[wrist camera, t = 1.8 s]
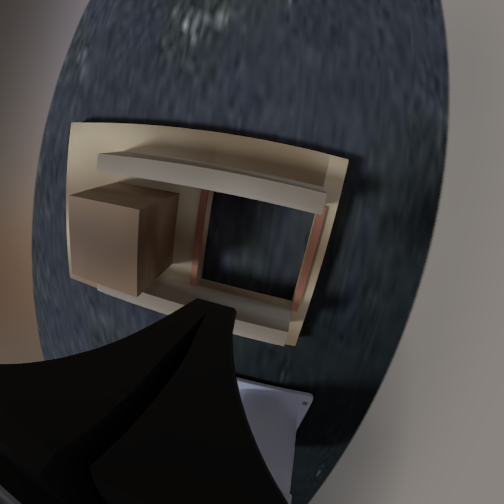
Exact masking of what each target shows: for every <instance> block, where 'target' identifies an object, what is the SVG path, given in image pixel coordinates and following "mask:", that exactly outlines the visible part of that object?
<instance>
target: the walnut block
mask: <svg viewBox="0 0 504 504" xmlns="http://www.w3.org/2000/svg"><path fill="white" fill-rule="evenodd" d="M178 200H179V193H176V192H170V191H165V190H160V189H154V188H148V187H143V186H137V185H131V184H125V183H119V182H115V183H111V184H107V185H103V186H100V187H96V188H92V189H89V190H85V191H82V192H78V193H75V194H72V195H69V235H70V253H71V266H72V274H74V275H76V276H79V277H81V278H84V279H87V280H89V281H92V282H94V283H97V284H100V285H103V286H105V287H108V288H111V289H114V290H117V291H119V292H122V293H125V294H128V295H131V296H134V297H138V296H139V295H140V294H141V293H142V292H143V291H144V290H145V289H146V288H147V287H148V286H149V285H151V284H152V283H153V282H154V281H155V280H156V279H157V278H158V277H159V276H160V275H161V274H162V273H163V272H164V271H165V270H166V269H167V268H168V267H170V266H171V265H172V261H173V249H174V238H175V227H176V218H177V209H178Z"/></svg>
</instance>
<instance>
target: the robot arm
mask: <svg viewBox="0 0 504 504" xmlns="http://www.w3.org/2000/svg"><path fill="white" fill-rule="evenodd" d="M236 314H237V311H236V310H235V308H232V307H229V306H225V305H221V304H217V303H214V302H210V301H206V300H203V299H199V298H196V299H195V300H193V301H191V302H189V303H188V304H186V305H184V306H183V307H181V308H179V309H178V310H176V311H175V312H173V313H171V314H169V315H168V316H166V317H164V318H163V319H161V320H159V321H157V322H155V323H154V324H152V325H150V326H148V327H146V328H144V329H142V330H140V331H138V332H136V333H134V334H132V335H130V336H128V337H125V338H123V339H121V340H118V341H116V342H113V343H111V344H108V345H105V346H102V347H100V348H97V349H93V350H90V351H86V352H83V353H79V354H75V355H71V356H67V357H63V358H58V359H53V360H47V361H41V362H32V363H23V364H0V490H1V491H2V492H3V493H4V494H5V495H6V496H7V497H8V498H9V499H11V500H12V501H13V502H14V503H15V504H291V498H292V495H291V494H289V492H290V484H291V476H292V468H293V458H294V449H295V439H296V430H297V429H298V427H299V425H300V423H301V421H302V420H303V418H304V416H305V414H306V412H307V411H308V409H309V407H310V405H311V403H312V401H313V395H312V394H311V393H306V392H301V391H296V390H291V389H286V388H281V387H276V386H271V385H267V384H263V383H258V382H254V381H250V380H246V379H242V378H238V377H236V372H235V365H234V357H233V341H232V335H233V330H234V325H235V319H236ZM0 504H11V503H10V502H9V501H8V500H6V499H5V498H4V497H2V496H1V495H0Z"/></svg>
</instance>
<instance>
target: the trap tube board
mask: <svg viewBox="0 0 504 504" xmlns="http://www.w3.org/2000/svg"><path fill="white" fill-rule="evenodd" d="M348 162H349V160H348V159H345V158H341V157H337V156H333V155H330V154H326V153H322V152H317V151H313V150H309V149H305V148H300V147H296V146H291V145H287V144H282V143H277V142H272V141H267V140H262V139H256V138H250V137H245V136H239V135H232V134H226V133H219V132H212V131H204V130H196V129H188V128H179V127H168V126H157V125H143V124H126V123H71V130H70V139H69V150H68V164H67V185H66V225H67V246H68V260H69V271H70V278H73V279H75V280H78V281H80V282H83V283H86V284H88V285H91V286H93V287H96V288H97V290H98V291H101V292H103V293H106V294H109V295H111V296H114V297H117V298H119V299H122V300H125V301H128V302H131V303H134V304H137V305H139V306H142V307H145V308H148V309H151V310H154V311H157V312H160V313H164V314H167V315H169V314H171V313H173V312H175V311H176V310H178V309H179V308H181V307H183V306H184V305H186V304H188V303H189V302H191V301H193V300H195V299H196V298H199V299H203V300H206V301H210V302H214V303H217V304H221V305H225V306H229V307H232V308H235V310H236V311H237V314H236V319H235V325H234V330H233V334H236V335H240V336H243V337H247V338H251V339H255V340H260V341H264V342H268V343H272V344H276V345H281V346H284V344H288V345H292V346H295V345H296V342H297V339H298V336H299V333H300V330H301V328H302V325H303V322H304V319H305V316H306V313H307V310H308V307H309V303H310V300H311V297H312V294H313V291H314V288H315V285H316V281H317V278H318V275H319V271H320V268H321V265H322V261H323V258H324V255H325V251H326V248H327V244H328V241H329V237H330V233H331V230H332V226H333V222H334V219H335V215H336V211H337V207H338V203H339V199H340V195H341V191H342V187H343V183H344V179H345V175H346V170H347V166H348ZM115 182H119V183H125V184H131V185H137V186H143V187H148V188H154V189H160V190H165V191H170V192H176V193H179V200H178V209H177V218H176V227H175V238H174V249H173V261H172V265H171V266H170V267H168V268H167V269H166V270H165V271H164V272H163V273H162V274H161V275H160V276H159V277H158V278H157V279H156V280H155V281H154V282H153V283H152V284H151V285H149V286H148V287H147V288H146V289H145V290H144V291H143V292H142V293H141V294H140V295H139V296H138V297H134V296H131V295H128V294H125V293H122V292H119V291H117V290H114V289H111V288H108V287H105V286H103V285H100V284H97V283H94V282H92V281H89V280H87V279H84V278H81V277H79V276H76V275H74V274H72V266H71V253H70V235H69V195H72V194H75V193H78V192H82V191H85V190H89V189H92V188H96V187H100V186H103V185H107V184H111V183H115ZM214 191H216V192H221V193H226V194H231V195H236V196H240V197H245V198H250V199H255V200H259V201H264V202H268V203H273V204H277V205H281V206H286V207H290V208H294V209H299V210H303V211H307V212H311V213H315V216H314V220H313V224H312V228H311V232H310V236H309V239H308V243H307V247H306V251H305V255H304V258H303V262H302V266H301V269H300V273H299V277H298V280H297V284H296V287H295V291H294V294H293V298H292V301H291V300H287V299H282V298H278V297H274V296H270V295H266V294H261V293H257V292H253V291H249V290H245V289H241V288H237V287H233V286H229V285H225V284H222V283H218V282H214V281H210V280H206V279H202V271H203V263H204V256H205V248H206V241H207V234H208V226H209V219H210V213H211V206H212V199H213V193H214Z"/></svg>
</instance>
